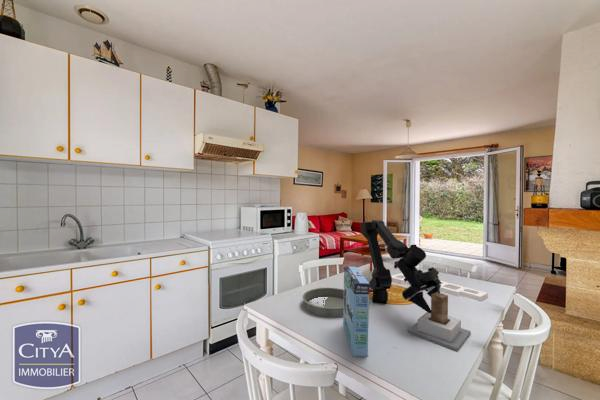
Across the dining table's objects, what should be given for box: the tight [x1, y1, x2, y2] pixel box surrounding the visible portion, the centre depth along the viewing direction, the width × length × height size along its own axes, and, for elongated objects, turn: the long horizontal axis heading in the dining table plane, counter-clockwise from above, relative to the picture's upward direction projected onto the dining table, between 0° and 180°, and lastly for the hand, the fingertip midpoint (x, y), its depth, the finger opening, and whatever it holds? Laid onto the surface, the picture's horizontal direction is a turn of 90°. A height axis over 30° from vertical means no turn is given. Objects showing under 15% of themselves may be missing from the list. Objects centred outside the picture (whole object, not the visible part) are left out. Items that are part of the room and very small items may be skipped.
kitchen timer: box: [361, 259, 374, 292], centre depth 142 cm, size 14×14×15 cm
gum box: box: [342, 266, 370, 358], centre depth 90 cm, size 20×5×23 cm, turn 0°
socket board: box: [407, 311, 472, 352], centre depth 95 cm, size 16×16×5 cm
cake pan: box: [302, 287, 344, 317], centre depth 119 cm, size 25×25×4 cm
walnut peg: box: [430, 292, 449, 325], centre depth 95 cm, size 4×4×13 cm
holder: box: [391, 272, 489, 302], centre depth 144 cm, size 45×18×3 cm, turn 35°
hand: (437, 309), depth 95 cm, fingers open, 9 cm apart
